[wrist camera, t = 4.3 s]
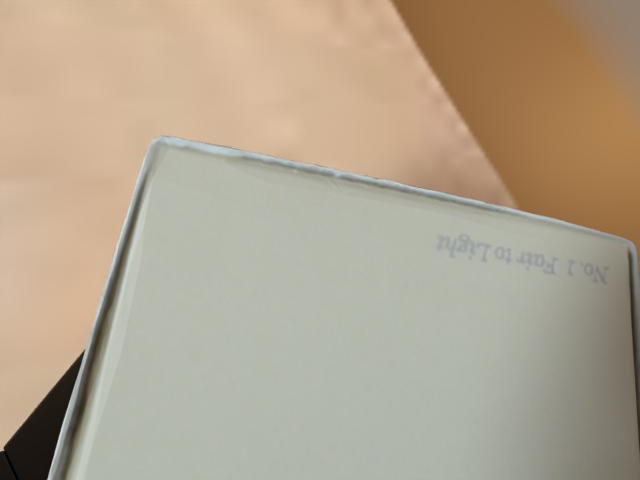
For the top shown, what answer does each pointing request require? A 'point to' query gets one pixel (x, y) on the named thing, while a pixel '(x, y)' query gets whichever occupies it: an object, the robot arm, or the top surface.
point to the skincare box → (351, 334)
